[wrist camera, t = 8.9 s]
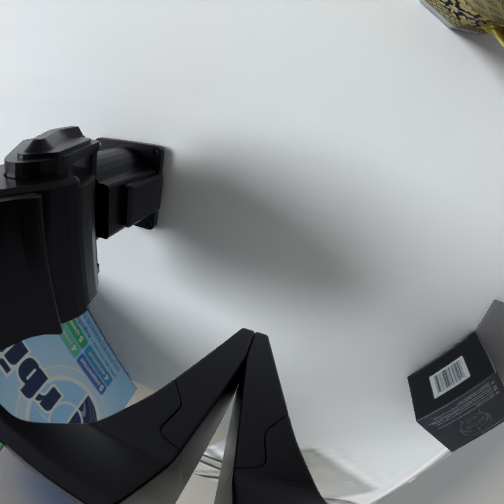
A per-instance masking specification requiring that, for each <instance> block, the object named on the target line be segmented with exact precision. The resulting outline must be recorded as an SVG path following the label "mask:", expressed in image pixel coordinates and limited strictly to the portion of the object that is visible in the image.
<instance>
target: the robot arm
mask: <svg viewBox="0 0 504 504" xmlns="http://www.w3.org/2000/svg"><path fill="white" fill-rule="evenodd" d="M100 142H101V146H100ZM155 150H158V155H156V154H155ZM163 157H164V150H163V148H162V147H161V146H159V145H153V144H147V143H140V142H133V141H126V140H119V139H111V138H97V139H96V140H91V139H90V138H85V136H83V134H82V133H81V131H80V129H79V127H76V126H70V127H63V128H57V129H52V130H49V131H47V132H45V133H43V134H41V135H39V136H37V137H36V138H34V139H27V140H23V141H22V142H21V143H20V144H19V145H18V146H17V147H16V148H14V149H13V150H12V151H11V152H10V153H9V154H8V155H7V156H6V157H5V159H4V163H5V164H3V165H0V349H6V348H8V347H10V346H12V345H14V344H17V343H19V342H21V341H23V340H26V339H28V338H31V337H36V336H40V335H59V334H62V333H63V329H62V326H61V324H64V323H67V322H69V321H71V320H73V319H76V318H78V317H79V316H81V315H82V314H83V313H85V312H86V311H87V310H88V309H89V306H88V304H89V303H90V302H91V300H92V299H93V297H94V296H95V294H96V293H97V288H98V273H99V264H98V263H97V246H96V240H97V239H99V238H100V237H101V238H104V239H108V238H109V237H111V236H112V235H114V234H115V233H117V232H119V231H120V230H122V229H123V228H125V227H128V228H129V227H131V226H132V225H135V226H138V227H142V228H145V229H148V230H151V229H153V228H154V227H155V226H156V225H157V215H158V209H159V208H160V201H161V191H162V182H163V176H162V165H163ZM149 221H151V224H152V225H150V224H149ZM237 387H238V388H237ZM236 390H237V391H236ZM235 392H236V395H235V399H234V405H233V410H232V415H231V420H230V425H229V431H228V436H227V441H226V446H225V451H224V456H223V461H222V466H221V471H220V477H219V482H218V487H217V492H216V497H215V502H214V504H328V503H327V502H326V501H325V500H324V499H323V497H322V496H321V495H320V493H319V491H318V489H317V487H316V485H315V483H314V481H313V479H312V476H311V474H310V472H309V470H308V467H307V465H306V463H305V461H304V458H303V456H302V454H301V451H300V449H299V446H298V444H297V441H296V438H295V435H294V432H293V429H292V425H291V421H290V418H289V416H288V415H289V414H288V410H287V407H286V403H285V399H284V395H283V392H282V388H281V384H280V380H279V376H278V373H277V369H276V365H275V361H274V357H273V353H272V350H271V346H270V342H269V338H268V336H267V335H265V334H262V333H259V332H256V333H254V331H252V330H249V329H245V328H242V329H241V330H239V331H238V332H237V333H236V334H234V335H233V336H232V337H230V338H229V339H228V340H226V341H225V342H224V343H223V344H221V345H220V346H219V347H217V348H216V349H215V350H213V351H212V352H211V353H209V354H208V355H207V356H205V357H204V358H203V359H201V360H200V361H199V362H197V363H196V364H195V365H193V366H192V367H191V368H189V369H188V370H187V371H185V372H184V373H183V374H181V375H180V376H178V377H177V378H176V379H175V380H173V381H171V382H170V383H168V384H167V385H166V386H164V387H163V388H161V389H160V390H158V391H157V392H155V393H154V394H152V395H150V396H148V397H147V398H145V399H143V400H141V401H139V402H137V403H135V404H133V405H131V406H129V407H127V408H125V409H123V410H121V411H119V412H117V413H115V414H113V415H111V416H108V417H106V418H104V419H102V420H99V421H95V422H91V423H41V422H30V421H25V420H22V419H19V418H17V417H15V416H13V415H12V414H11V413H9V412H8V411H7V410H6V409H5V408H4V407H3V406H2V405H1V404H0V442H1V443H2V444H3V446H2V447H1V448H0V504H175V503H176V501H177V500H178V498H179V496H180V494H181V493H182V491H183V489H184V487H185V486H186V484H187V482H188V480H189V478H190V477H191V475H192V473H193V472H194V470H195V468H196V466H197V464H198V463H199V461H200V459H201V457H202V455H203V454H204V452H205V450H206V448H207V446H208V444H209V442H210V440H211V439H212V437H213V435H214V433H215V431H216V429H217V427H218V426H219V424H220V422H221V420H222V418H223V416H224V414H225V412H226V410H227V408H228V406H229V405H230V403H231V401H232V399H233V397H234V394H235Z"/></svg>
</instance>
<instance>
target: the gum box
mask: <svg viewBox="0 0 504 504" xmlns="http://www.w3.org/2000/svg"><path fill="white" fill-rule="evenodd" d="M61 326H62V329H63V333H62V334H59V335H40V336H36V337H31V338H28V339H26V340H23V341H21V342H19V343H17V344H14V345H12V346H10V347H8V348H6V349H0V404H1V405H2V406H3V407H4V408H5V409H6V410H7V411H8V412H9V413H11V414H12V415H13V416H15V417H17V418H19V419H22V420H25V421H30V422H41V423H91V422H95V421H99V420H102V419H104V418H106V417H108V416H111V415H113V414H115V413H117V412H119V411H121V410H123V409H124V408H125V406H126V405H127V403H128V402H129V400H130V398H131V397H132V395H133V393H134V392H135V390H136V389H137V388H136V386H135V385H134V384H133V382H132V381H131V379H130V378H129V377H128V375H127V374H126V372H125V371H124V369H123V368H122V366H121V365H120V363H119V362H118V360H117V359H116V357H115V355H114V354H113V352H112V351H111V349H110V347H109V346H108V344H107V343H106V341H105V339H104V338H103V336H102V334H101V332H100V331H99V329H98V327H97V326H96V324H95V322H94V320H93V319H92V317H91V315H90V313H89V311H88V310H87V311H86V312H85V313H83V314H82V315H81V316H79V317H78V318H76V319H73V320H71V321H69V322H67V323H64V324H61ZM2 446H3V444H2V443H1V442H0V448H1V447H2Z"/></svg>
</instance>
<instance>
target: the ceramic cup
mask: <svg viewBox="0 0 504 504" xmlns="http://www.w3.org/2000/svg"><path fill="white" fill-rule="evenodd" d="M419 1H420V2H421V3H422V4H423V5H424V6H425V7H426V8H427V9H429V10H430V11H431V12H432V13H433V14H434V15H435V16H436V17H438V18H439V19H440V20H441V21H442V22H443V23H444V24H445V25H446V26H447V27H448V28H450V29H455V30H459V31H464V32H468V33H472V34H478V35H480V34H486V33H489V34H491V35H493V36H494V37H495V38H496V39H497V40H498V41H499V43H500V44H501V45H502V47H503V48H504V0H419Z"/></svg>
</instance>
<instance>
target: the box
mask: <svg viewBox="0 0 504 504" xmlns="http://www.w3.org/2000/svg"><path fill="white" fill-rule="evenodd" d="M407 379H408V382H409V387H410V392H411V397H412V402H413V407H414V412H415V417H416V421H417V423H419V424H420V425H421V426H422V427H423V428H424V429H426V430H427V431H428V432H429V433H430V434H432V435H433V436H434V437H435V438H436V439H437V440H438V441H440V442H441V443H442V444H443V445H444V446H446V447H447V448H448V449H449V450H450V451H451V452H452V451H455V450H456V449H458V448H460V447H462V446H464V445H465V444H467V443H469V442H470V441H472V440H474V439H476V438H478V437H479V436H481V435H483V434H484V433H486V432H488V431H489V430H491V429H493V428H494V427H496V426H497V425H499V424H501V423H502V422H504V386H503V384H502V382H501V379H500V377H499V374H498V372H497V370H496V368H495V366H494V364H493V362H492V360H491V358H490V356H489V354H488V352H487V350H486V348H485V347H484V345H483V343H482V341H481V339H480V337H479V336H478V334H477V332H476V331H474V332H472V333H471V334H470V335H468V336H467V337H466V338H465V339H463V340H462V341H461V342H460V343H458V344H457V345H455V346H454V347H453V348H451V349H450V350H449V351H447V352H446V353H444V354H443V355H441V356H440V357H438V358H437V359H435V360H434V361H432V362H431V363H429V364H427V365H426V366H424V367H423V368H421V369H420V370H418V371H417V372H415V373H413V374H411V375H410V376H408V378H407Z"/></svg>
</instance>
